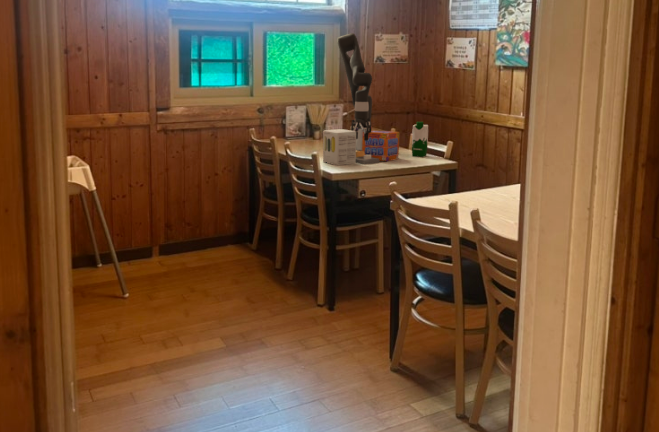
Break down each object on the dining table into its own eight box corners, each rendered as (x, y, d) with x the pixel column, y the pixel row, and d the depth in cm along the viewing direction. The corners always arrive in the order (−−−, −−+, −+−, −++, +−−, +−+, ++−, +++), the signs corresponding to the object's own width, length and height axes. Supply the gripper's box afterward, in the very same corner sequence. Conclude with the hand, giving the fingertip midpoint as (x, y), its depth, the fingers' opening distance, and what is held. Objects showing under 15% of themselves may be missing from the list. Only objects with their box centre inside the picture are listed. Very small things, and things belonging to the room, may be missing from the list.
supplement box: (322, 162, 390) (322, 130, 386) (341, 160, 398) (341, 128, 394) (337, 165, 380) (337, 132, 376) (356, 163, 388) (356, 131, 384)
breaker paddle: (362, 156, 397) (361, 151, 397) (365, 155, 395) (364, 150, 395) (356, 157, 394) (354, 152, 394) (358, 156, 392) (357, 151, 392)
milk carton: (410, 156, 413) (411, 122, 408) (413, 154, 421) (414, 120, 417) (425, 157, 410) (426, 122, 406) (428, 155, 419) (429, 121, 414)
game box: (361, 159, 401) (362, 131, 398) (374, 157, 414) (375, 130, 411) (386, 161, 393) (386, 133, 390) (398, 159, 406) (399, 131, 403)
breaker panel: (357, 158, 405) (357, 151, 404) (379, 162, 391) (379, 155, 390) (342, 159, 398) (342, 152, 397) (363, 164, 384) (364, 156, 384)
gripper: (375, 110, 385) (374, 140, 389) (358, 108, 396) (357, 137, 400) (364, 111, 380) (364, 141, 384) (347, 109, 391) (347, 138, 395)
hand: (360, 139), depth 392 cm, fingers open, 8 cm apart
